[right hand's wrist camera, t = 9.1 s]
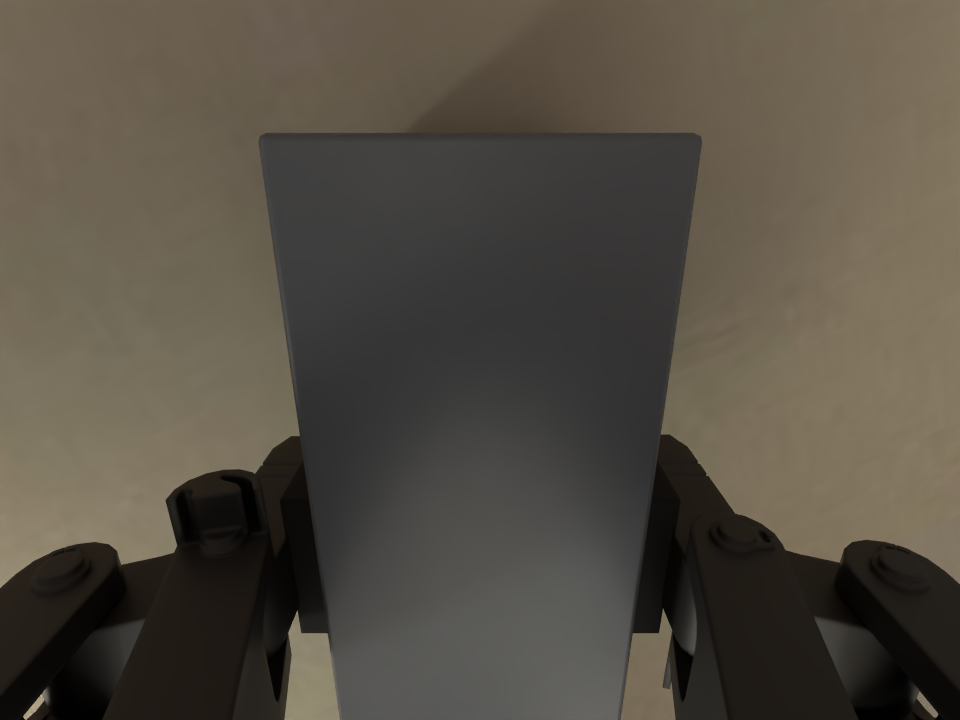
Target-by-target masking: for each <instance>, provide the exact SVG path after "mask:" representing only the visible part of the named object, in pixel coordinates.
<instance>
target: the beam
mask: <svg viewBox="0 0 960 720" xmlns="http://www.w3.org/2000/svg"><path fill="white" fill-rule="evenodd" d="M701 146H702V141H701V137H700V136H699V135H697V134H695V133H266V134H264V135H262V136H260V139H259V148H260V155H261V162H262V169H263V176H264V184H265V191H266V198H267V205H268V212H269V219H270V226H271V233H272V240H273V247H274V255H275V262H276V269H277V276H278V283H279V290H280V297H281V304H282V311H283V318H284V325H285V333H286V340H287V347H288V354H289V361H290V368H291V375H292V382H293V389H294V396H295V404H296V411H297V418H298V425H299V432H300V439H301V446H302V453H303V460H304V467H305V475H306V482H307V489H308V496H309V503H310V510H311V517H312V524H313V531H314V538H315V545H316V553H317V560H318V567H319V574H320V581H321V588H322V595H323V602H324V609H325V616H326V624H327V631H328V638H329V645H330V652H331V659H332V666H333V673H334V680H335V687H336V694H337V702H338V709H339V716H340V720H620V718H621V711H622V704H623V697H624V690H625V683H626V676H627V669H628V662H629V655H630V648H631V641H632V633H633V626H634V619H635V612H636V605H637V598H638V591H639V584H640V577H641V570H642V563H643V556H644V549H645V542H646V534H647V527H648V520H649V513H650V506H651V499H652V492H653V485H654V478H655V471H656V464H657V457H658V450H659V443H660V435H661V428H662V421H663V414H664V407H665V400H666V393H667V386H668V379H669V372H670V365H671V358H672V351H673V344H674V336H675V329H676V322H677V315H678V308H679V301H680V294H681V287H682V280H683V273H684V266H685V259H686V252H687V245H688V237H689V230H690V223H691V216H692V209H693V202H694V195H695V188H696V181H697V174H698V167H699V160H700V153H701Z"/></svg>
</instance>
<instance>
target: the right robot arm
mask: <svg viewBox="0 0 960 720" xmlns="http://www.w3.org/2000/svg"><path fill="white" fill-rule="evenodd" d="M166 504H167V508H168V511H169V515H170V519H171V523H172V527H173V531H174V535H175V538H176V542H177V548H176V550H175V552H174V553H172V554H168V555H165V556H161V557H156V558H152V559H147V560H142V561H138V562H133V563H128V564H124V565H121V563H120V560H119V556H118V553H117V551H116V550H115V549H114V548H113V547H111V546H110V545H109V544H103V543H97V542H92V543H83V544H76V545H72V546H68V547H66V548H61V549H58V550H56V551H53V552H51V553H50V554H47V555H45V556H43V557H41V558H39V559H37V560H35V561H33V562H32V563H31V564H29V565H28V566H27V567H25V568H24V569H22V570H21V571H20V572H18V573H17V574H16V575H14V576H13V577H12V578H11V579H10V580H9V581H8V582H7V583H6V584H4V585H3V586H2V587H1V588H0V720H25V719H24V718H23V716H24V714H25V713H26V712H27V711H28V710H29V708H30V707H31V706H32V705H33V704H34V702H35V701H36V700H37V699H38V697H39V696H40V695H41V694H42V695H43V697H44V699H45V701H44V702H43V703H42V704H41V706H40V707H39V708H38V709H37V711H36V712H35V713H34V714H32V715H31V716H30V717H29V718H28V719H27V720H284V718H285V709H286V700H287V691H288V682H289V673H290V663H291V648H290V641H289V636H288V632H289V629H290V627H291V624H292V622H293V619H294V617H295V614H296V612H297V610H298V615H299V621H300V627H301V633H328V631H327V624H326V616H325V609H324V602H323V595H322V588H321V581H320V574H319V567H318V560H317V553H316V545H315V538H314V531H313V524H312V517H311V510H310V503H309V496H308V489H307V482H306V475H305V467H304V460H303V453H302V446H301V439H300V436H291V437H290V438H288V439H287V440H285V441H284V442H282V443H281V444H279V445H278V446H276V447H275V448H273V449H272V451H271V452H270V454H269V455H268V457H267V458H266V459H265V461H264V462H263V466H260V468H259V469H258V471H257V472H256V474H254V473H252V472H248V471H244V470H221V471H216V472H211V473H207V474H204V475H201V476H199V477H196V478H194V479H191V480H189V481H187V482H186V483H184V484H183V485H181V486H179V487H178V488H176V489H175V490H174V491H173V492H172V493H171V494H170V496H169V497H168V498H167V499H166ZM663 609H664V611H665V614H666V616H667V618H668V621H669V623H670V626H671V628H672V636H671V641H670V647H669V653H668V658H667V664H666V669H665V675H664V682H663V688H667V689H670V685H671V680H672V690H673V699H674V708H675V717H676V720H960V584H959V583H958V582H956V581H955V580H954V579H953V578H952V577H951V576H950V575H949V574H947V573H946V572H945V571H944V570H942V569H941V568H940V567H938V566H937V565H935V564H934V563H933V562H931V561H930V560H928V559H927V558H925V557H923V556H921V555H919V554H916V553H914V552H912V551H911V550H909V549H907V548H904V547H901V546H896V545H895V544H890V543H887V542H880V541H871V540H863V541H857V542H852V543H851V544H849V545H848V546H847V547H846V548H845V549H844V551H843V555H842V558H841V561H840V563H838V562H833V561H829V560H824V559H819V558H814V557H810V556H805V555H800V554H797V553H793V552H790V551H786V550H785V549H784V547H783V545H782V543H781V542H780V541H779V539H778V538H777V536H776V535H775V534H774V533H773V532H772V531H770V530H769V529H768V528H766V527H765V526H764V525H762V524H761V523H759V522H756V521H754V520H752V519H750V518H748V517H746V516H742V515H738V514H735V513H734V511H733V510H732V509H731V507H730V506H729V504H728V503H727V502H726V500H725V499H724V497H723V496H722V495H721V493H720V492H719V490H718V489H717V488H716V486H715V485H714V483H713V482H712V481H711V479H710V478H709V476H706V472H705V471H704V469H703V468H702V467H701V465H700V464H698V461H697V460H696V458H695V457H694V455H693V454H692V453H691V451H690V450H689V448H688V447H687V446H685V445H684V444H682V443H681V442H679V441H678V440H676V439H675V438H673V437H672V436H671V435H660V443H659V450H658V457H657V464H656V471H655V478H654V485H653V492H652V499H651V506H650V513H649V520H648V527H647V534H646V542H645V549H644V556H643V563H642V570H641V577H640V584H639V591H638V598H637V605H636V612H635V619H634V626H633V633H659V629H660V623H661V617H662V611H663ZM919 691H920V692H921V693H922V694H923V695H924V697H925V698H926V699H927V700H928V701H929V703H930V704H931V705H932V706H933V708H934V709H935V710H936V711H937V712H938V716H937V718H934V717H933V716H932V715H931V714H930V713H929V712H928V711H927V710H926V709H925V708H924V707H923V706H922V705H921V703H920V702H919V701H918V700H917V696H918V693H919Z"/></svg>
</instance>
